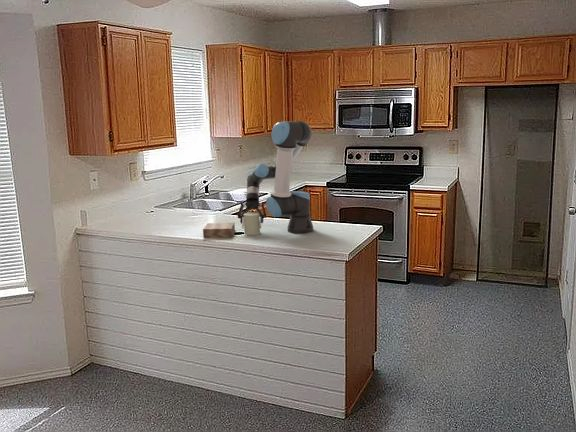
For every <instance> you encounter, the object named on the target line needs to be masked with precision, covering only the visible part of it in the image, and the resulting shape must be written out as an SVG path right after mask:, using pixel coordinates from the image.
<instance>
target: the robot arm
mask: <svg viewBox="0 0 576 432" xmlns="http://www.w3.org/2000/svg"><path fill="white" fill-rule="evenodd" d="M272 127H273V128H272V130H271V138H272V139H271V140H272V142H273V143H274V146H275V147H276V149H277V151H276V160H275V161H276V162H275V164H274V165H269V166H267V165H266V164H264V163H260V164H258V165H257V166H256V167H255V168H254V170H253V172H252V171H251V172H250V173H248V175H247V176H246V177H247V178H246V200H245V202H240V207H239V210H238V212H237V219H240V224H241V229H242V230H245V229H244V214H245V213H249V212H250V210H255V212H256V213H259V222H260V225H259V226H260V230H261V229H262V224H264V218H265V219H266V218H267V213H268V214H269V215H270V216H272V217H273V218H278V217H279V218H280V217H284V216H289V220H288V224H287V232H289V233H292V234H306V233H312V232H313V231H314V224H313V222H312V219H311V204H310V202H311V197H310V193H308V192H306V191H302V190H300V191H299V190H298V191H296V190H290V186H291V178H292V177H291V174H292V168H293V167H292V166H293V161H294V160H295V159H296V157H297V156H298V155H299V153H300V152H301V151H302V150H303V148H304V147H307V145H308V144H309V143H310V141H311V139H312V136H313V134H312V133H313V131H312V128H311V126H310V125H309V124H308V123H307V122H305V121H303V120H292V121H291V120H290V121H289V120H288V121H286V120H285V121H279V122H276V123H275V124H274V125H273V126H272ZM271 179H274V184H273V185H274V187H273V190H271V192H270V196H269V197H267V198H266V200H265V202H263V201H261V202H260V185H261V183H263V181H264V180H271ZM259 206H260V207H261V210H262V211H261V210H260V208H259ZM265 206H266V207H265ZM244 208H245V209H244ZM265 208H266V209H265ZM243 210H244V211H243ZM266 210H267V213H266Z"/></svg>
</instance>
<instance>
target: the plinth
mask: <svg viewBox="0 0 576 432" xmlns="http://www.w3.org/2000/svg"><path fill="white" fill-rule="evenodd" d="M235 227H236V226H235V222H208V223H206V225H205V226H204V227H203V228H202V234H203V235H202V236H203V239H210V238H212V239H213V238H215V239H216V238H219V239H220V238H232V237H233V235H234V234H233V233H235V231H236V228H235Z"/></svg>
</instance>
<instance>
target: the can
mask: <svg viewBox="0 0 576 432" xmlns="http://www.w3.org/2000/svg"><path fill="white" fill-rule="evenodd" d="M259 225H260V215H259V213H258V212H257V211H255V212H253V211H251V212H250V211H248V212H247V213H245V214H244V229H243V230H244V235H247V236H256V235H259V234H260V235H261V229H260V226H259Z"/></svg>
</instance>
